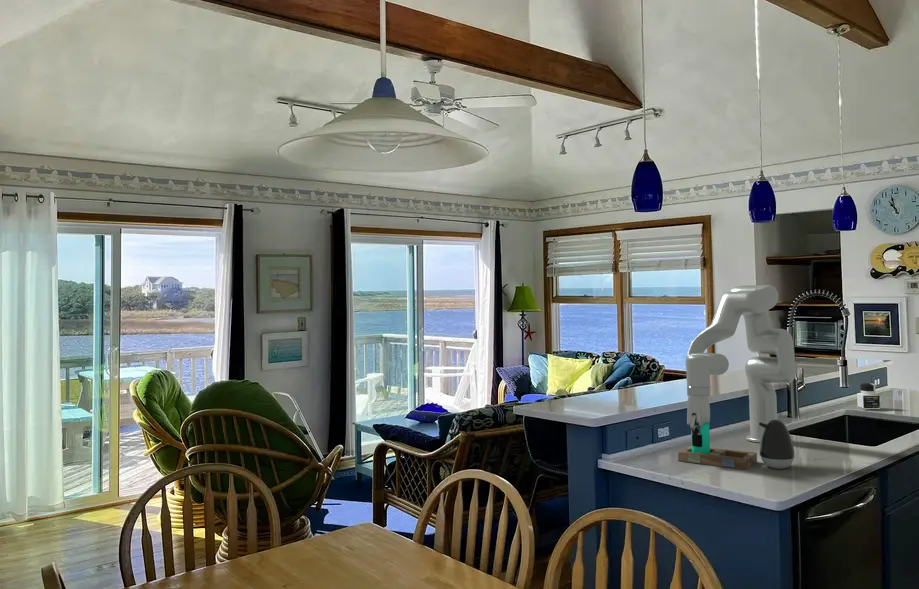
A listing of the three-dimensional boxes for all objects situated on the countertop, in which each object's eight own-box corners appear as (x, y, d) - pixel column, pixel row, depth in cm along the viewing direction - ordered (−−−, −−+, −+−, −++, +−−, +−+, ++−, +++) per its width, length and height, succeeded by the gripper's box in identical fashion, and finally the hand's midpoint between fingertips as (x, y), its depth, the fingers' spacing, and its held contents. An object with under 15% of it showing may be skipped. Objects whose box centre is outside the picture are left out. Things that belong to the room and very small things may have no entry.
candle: (687, 452, 234) (686, 417, 234) (701, 450, 236) (700, 415, 236) (700, 455, 228) (699, 420, 228) (714, 453, 231) (713, 418, 231)
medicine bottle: (863, 410, 316) (862, 384, 316) (857, 408, 323) (856, 382, 323) (880, 410, 315) (879, 384, 315) (873, 407, 322) (872, 382, 322)
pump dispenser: (754, 463, 224) (752, 417, 224) (786, 462, 224) (784, 416, 224) (767, 471, 214) (765, 422, 214) (800, 470, 214) (799, 422, 214)
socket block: (691, 454, 240) (690, 445, 240) (756, 461, 226) (756, 452, 227) (678, 461, 230) (677, 452, 230) (746, 469, 217) (745, 460, 217)
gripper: (696, 388, 241) (698, 439, 241) (678, 393, 228) (680, 448, 228) (718, 389, 237) (719, 441, 236) (701, 395, 223) (702, 450, 223)
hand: (700, 444), depth 232 cm, fingers closed on candle, 5 cm apart
